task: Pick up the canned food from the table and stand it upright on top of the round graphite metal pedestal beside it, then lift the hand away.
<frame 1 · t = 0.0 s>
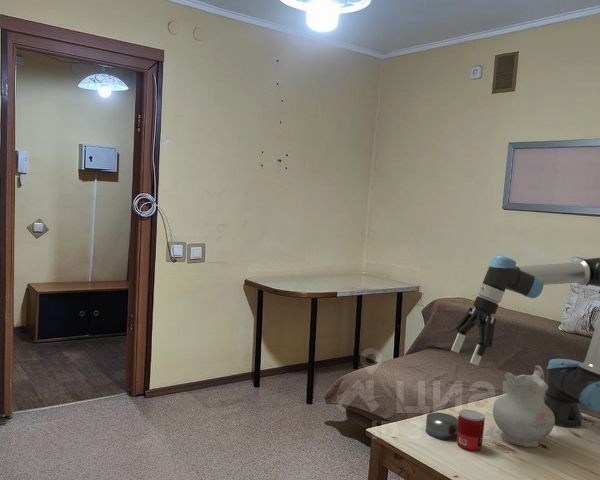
hand: (464, 357, 174), 28 cm above the table, tool tilted 20°, fingers open, 13 cm apart
ceramic pitcher: (521, 439, 179), on the table
canned food: (468, 446, 171), on the table
pedestal: (441, 433, 179), on the table
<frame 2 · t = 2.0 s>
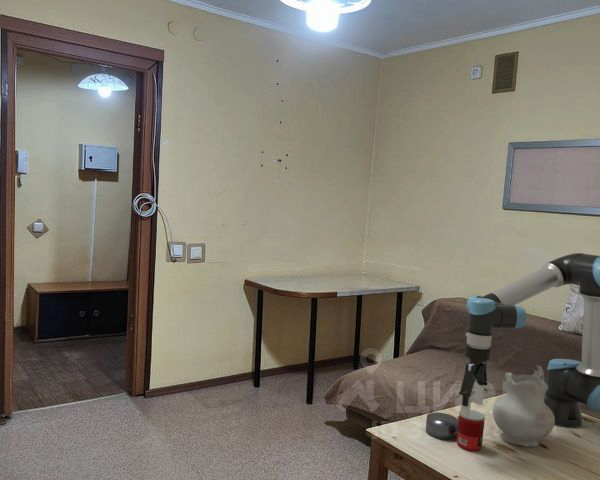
hand: (471, 409, 169), 13 cm above the table, tool pointing down, fingers open, 13 cm apart
nothing on the table moved.
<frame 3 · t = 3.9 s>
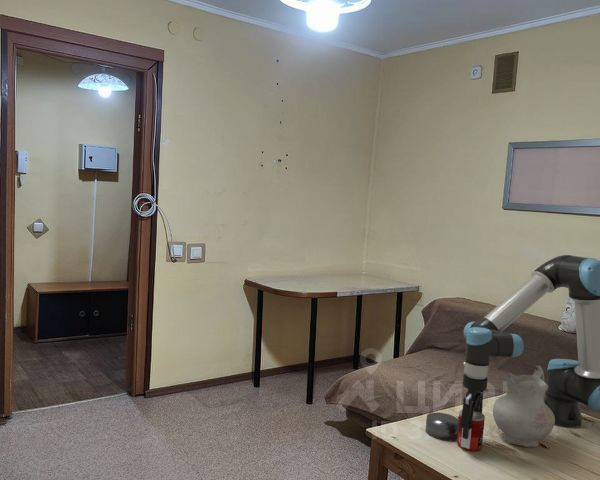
hand: (469, 442, 170), 1 cm above the table, tool pointing down, fingers closed on canned food, 8 cm apart
canned food: (469, 446, 171), on the table, touching gripper
everything else where it was.
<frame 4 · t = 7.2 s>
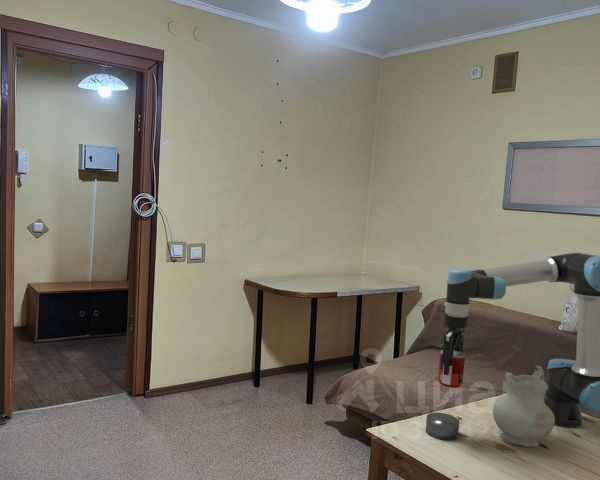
hand: (450, 380, 176), 19 cm above the table, tool pointing down, fingers closed on canned food, 8 cm apart
canned food: (449, 384, 176), point 18 cm above the table, touching gripper
everything else where it was.
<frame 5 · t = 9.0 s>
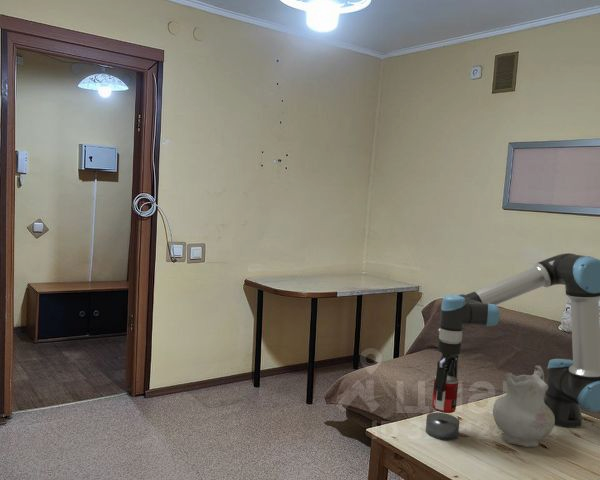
hand: (443, 405, 178), 10 cm above the table, tool pointing down, fingers closed on canned food, 8 cm apart
canned food: (443, 409, 178), point 8 cm above the table, touching gripper
everything else where it was.
when the fingers open (8 cm above the table, at t = 10.3 s): canned food drops 1 cm, resting on pedestal.
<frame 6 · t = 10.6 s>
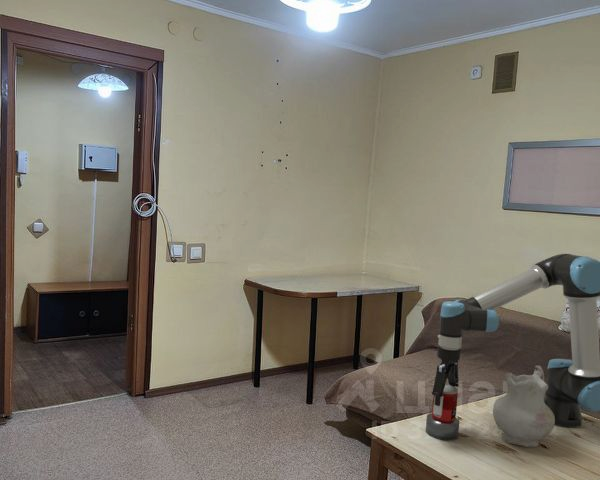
hand: (443, 409, 178), 9 cm above the table, tool pointing down, fingers open, 11 cm apart
canned food: (443, 419, 179), point 5 cm above the table, touching pedestal
everything else where it was.
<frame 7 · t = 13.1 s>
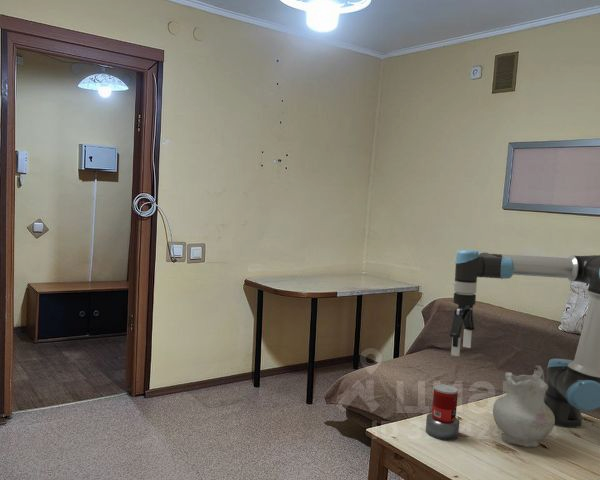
hand: (461, 351, 186), 27 cm above the table, tool pointing down, fingers open, 13 cm apart
nothing on the table moved.
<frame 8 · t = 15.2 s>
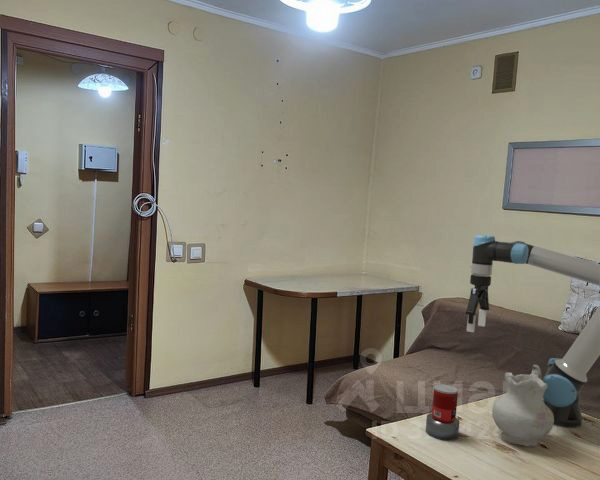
hand: (476, 328, 201), 32 cm above the table, tool pointing down, fingers open, 13 cm apart
at the end: canned food 0.2 cm off-centre on the pedestal, point 4.8 cm above the pedestal's base; canned food tilted 0°; the gripper is holding nothing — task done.
